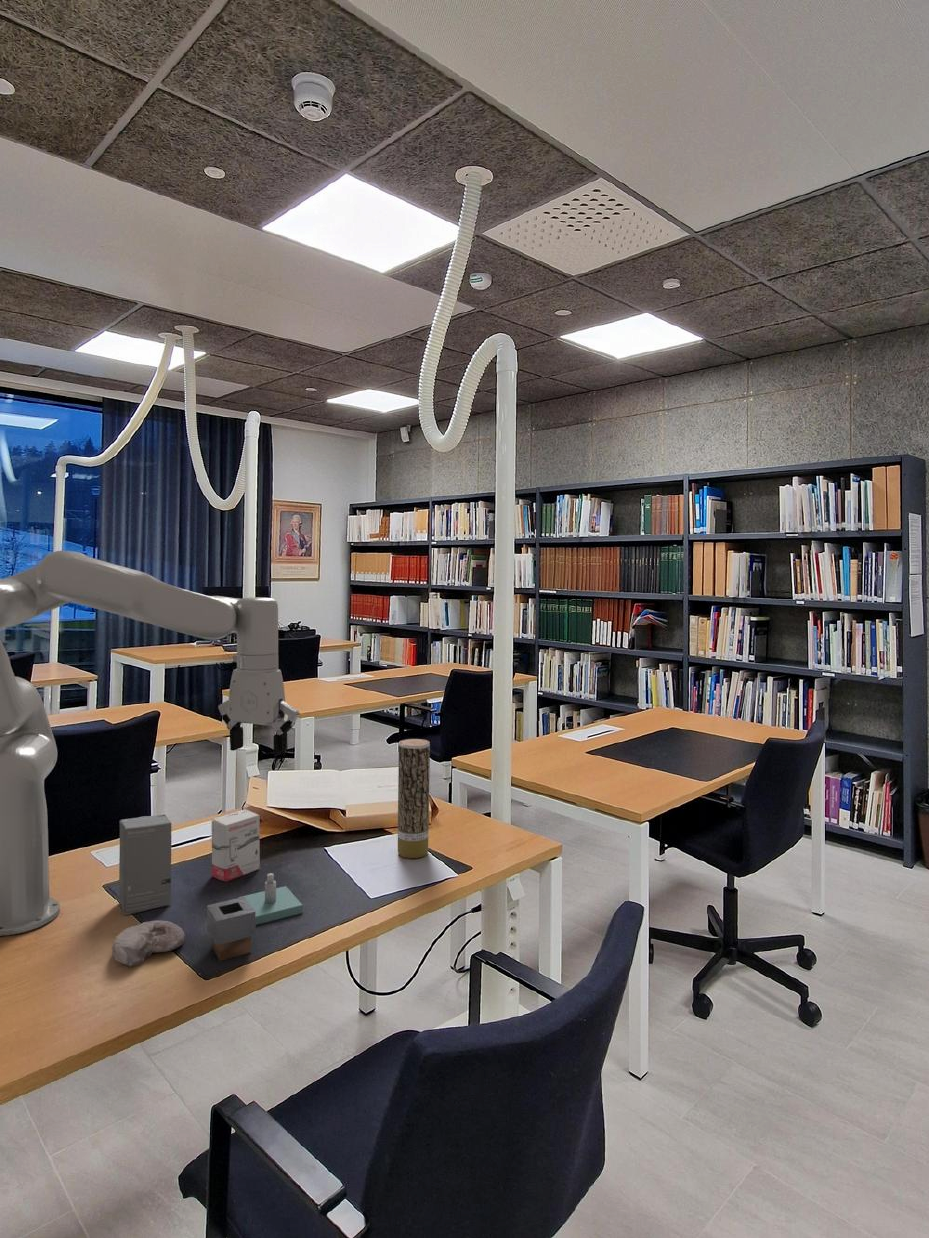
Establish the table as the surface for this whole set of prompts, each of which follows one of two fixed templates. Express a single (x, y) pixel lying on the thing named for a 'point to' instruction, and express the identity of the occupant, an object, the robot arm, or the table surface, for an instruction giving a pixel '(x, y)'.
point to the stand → (232, 948)
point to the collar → (231, 920)
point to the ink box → (235, 845)
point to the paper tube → (413, 798)
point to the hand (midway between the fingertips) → (258, 751)
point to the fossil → (146, 941)
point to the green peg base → (274, 902)
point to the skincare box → (145, 863)
